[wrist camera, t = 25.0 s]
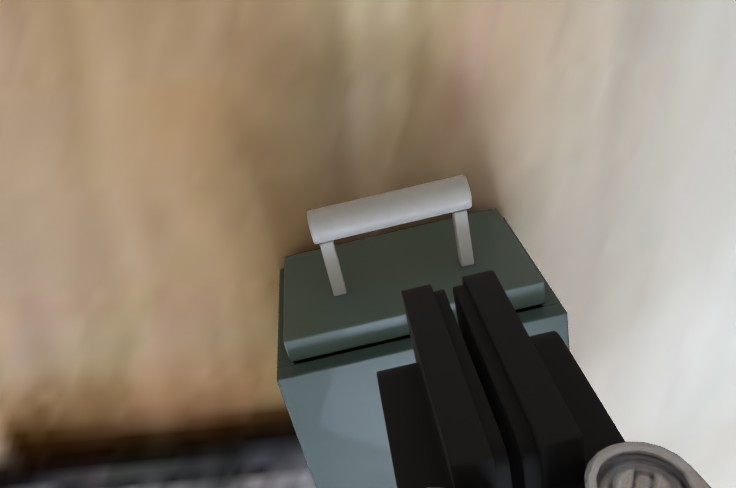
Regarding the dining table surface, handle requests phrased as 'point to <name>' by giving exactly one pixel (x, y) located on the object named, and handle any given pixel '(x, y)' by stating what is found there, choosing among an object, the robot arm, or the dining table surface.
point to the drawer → (394, 266)
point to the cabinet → (363, 399)
